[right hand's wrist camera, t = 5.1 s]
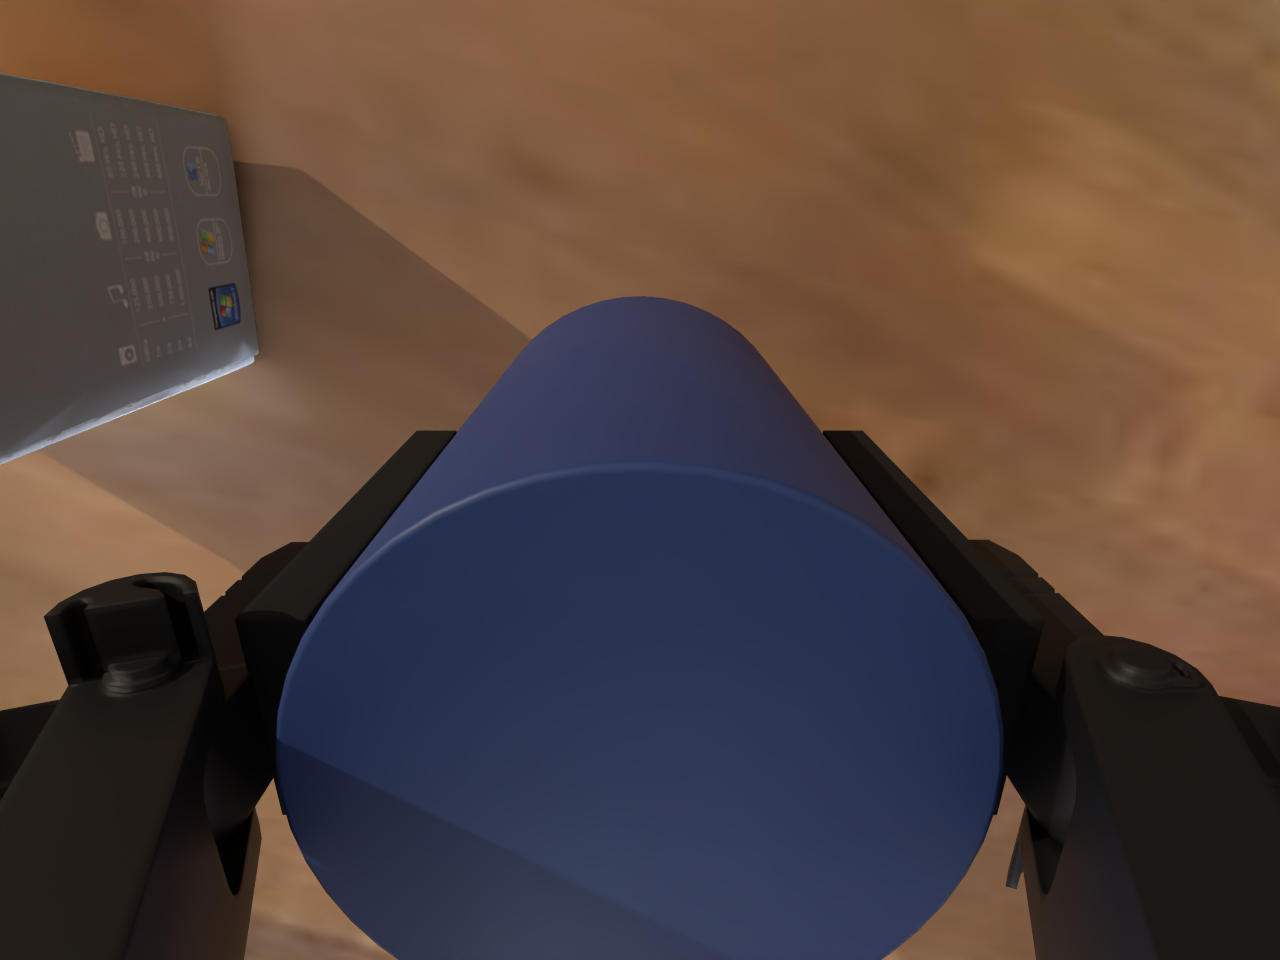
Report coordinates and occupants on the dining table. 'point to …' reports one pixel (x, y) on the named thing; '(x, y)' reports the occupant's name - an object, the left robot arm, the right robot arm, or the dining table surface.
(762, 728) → the canister
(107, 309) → the hard drive box
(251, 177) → the dining table surface
